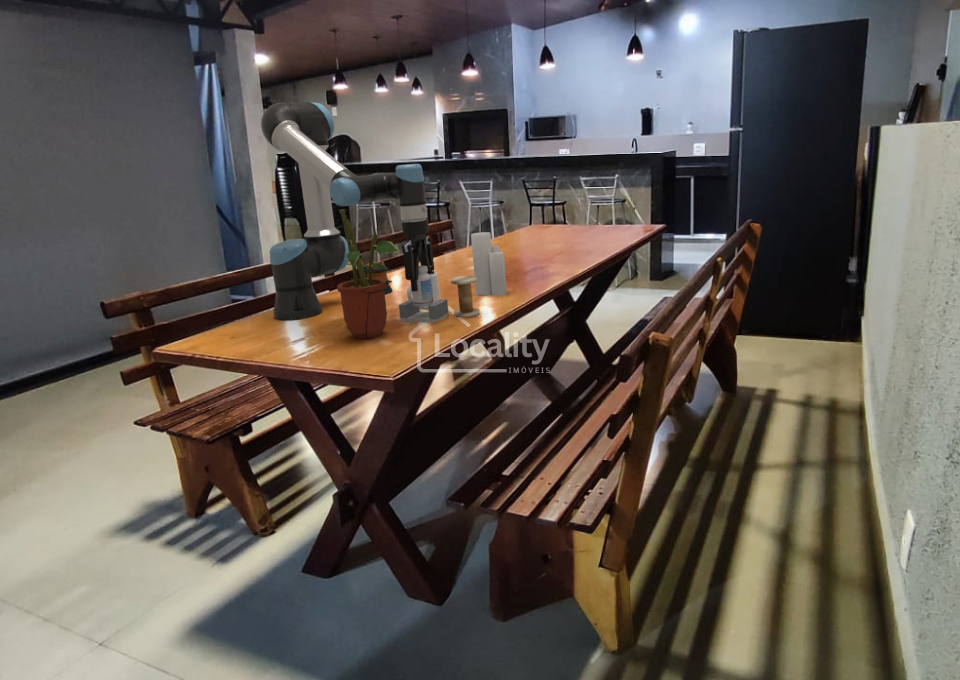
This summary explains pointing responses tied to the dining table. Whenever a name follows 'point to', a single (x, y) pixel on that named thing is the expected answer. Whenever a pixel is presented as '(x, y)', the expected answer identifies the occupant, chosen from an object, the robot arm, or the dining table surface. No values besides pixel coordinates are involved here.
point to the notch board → (415, 315)
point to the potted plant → (364, 289)
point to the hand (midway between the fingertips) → (423, 298)
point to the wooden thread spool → (465, 296)
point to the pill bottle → (424, 287)
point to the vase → (488, 266)
